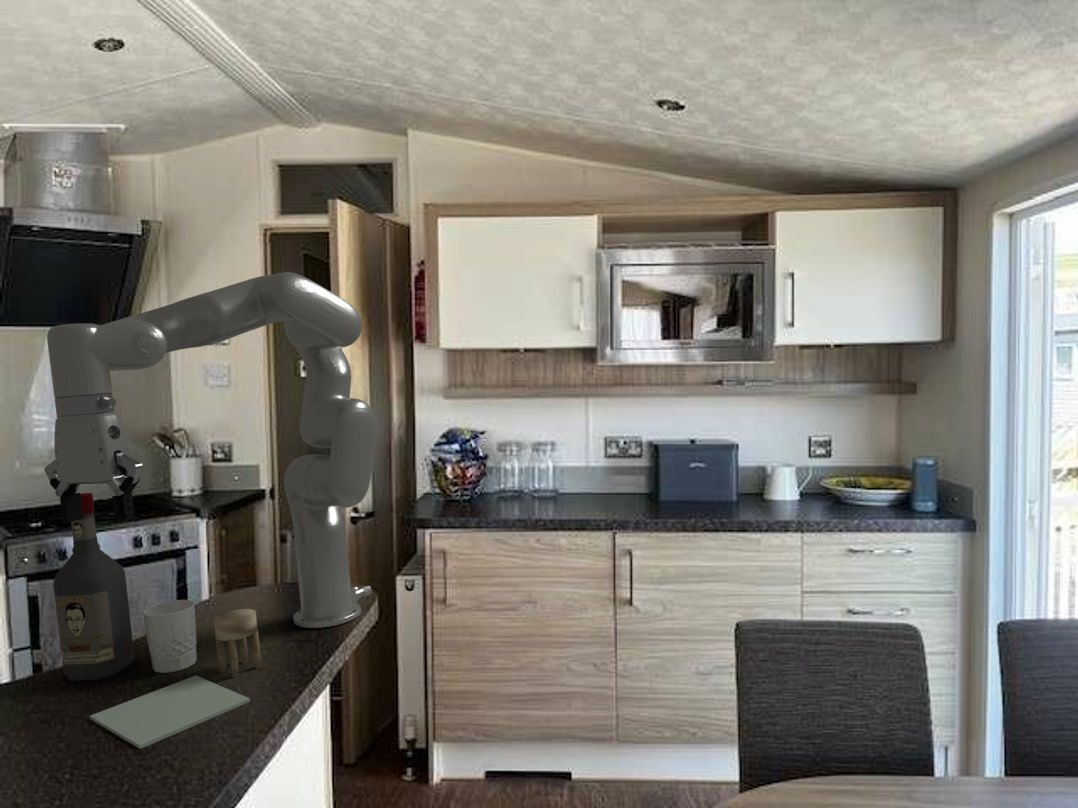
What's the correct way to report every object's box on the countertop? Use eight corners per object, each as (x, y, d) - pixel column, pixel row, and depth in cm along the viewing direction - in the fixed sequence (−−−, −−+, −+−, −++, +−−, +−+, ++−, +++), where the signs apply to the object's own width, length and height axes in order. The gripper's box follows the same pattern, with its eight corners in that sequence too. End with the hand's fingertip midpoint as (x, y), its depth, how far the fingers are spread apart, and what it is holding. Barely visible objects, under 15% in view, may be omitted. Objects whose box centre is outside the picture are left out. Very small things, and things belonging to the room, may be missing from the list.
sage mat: (196, 678, 128) (195, 675, 128) (250, 701, 118) (249, 698, 118) (90, 719, 115) (89, 715, 115) (140, 749, 105) (139, 745, 105)
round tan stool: (247, 658, 135) (242, 606, 134) (268, 665, 131) (263, 612, 130) (211, 671, 130) (206, 618, 129) (232, 680, 126) (226, 625, 125)
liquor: (91, 660, 139) (71, 491, 137) (141, 657, 139) (122, 488, 136) (56, 682, 130) (34, 502, 128) (110, 680, 130) (89, 499, 127)
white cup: (180, 675, 130) (174, 615, 129) (138, 674, 131) (132, 615, 130) (210, 656, 137) (204, 599, 136) (169, 655, 139) (163, 599, 138)
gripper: (151, 402, 119) (164, 514, 120) (61, 407, 124) (74, 515, 125) (111, 407, 112) (125, 526, 113) (17, 412, 117) (32, 526, 118)
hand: (98, 520), depth 119 cm, fingers open, 9 cm apart
